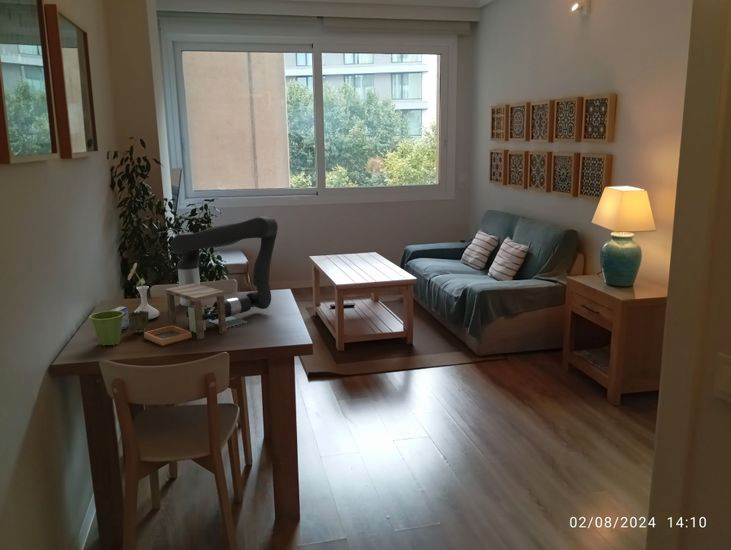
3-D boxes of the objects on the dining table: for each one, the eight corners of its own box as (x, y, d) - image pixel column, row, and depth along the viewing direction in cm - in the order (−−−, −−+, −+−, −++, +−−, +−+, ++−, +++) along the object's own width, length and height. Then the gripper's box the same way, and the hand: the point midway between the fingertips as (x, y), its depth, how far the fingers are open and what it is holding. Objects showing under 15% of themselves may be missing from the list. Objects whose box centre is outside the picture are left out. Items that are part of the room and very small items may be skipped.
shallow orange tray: (144, 338, 230) (143, 332, 229) (172, 331, 238) (172, 325, 238) (162, 346, 220) (162, 340, 220) (191, 338, 229) (191, 332, 228)
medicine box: (118, 333, 237) (116, 312, 236) (108, 332, 238) (105, 311, 236) (130, 327, 245) (127, 306, 243) (120, 326, 246) (117, 306, 244)
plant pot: (115, 349, 218) (112, 319, 216) (86, 348, 221) (82, 318, 218) (133, 338, 230) (130, 310, 227) (105, 337, 232) (101, 309, 229)
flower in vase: (141, 314, 263) (135, 258, 258) (165, 315, 261) (159, 259, 255) (123, 323, 251) (117, 264, 245) (148, 324, 248) (142, 265, 243)
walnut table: (168, 328, 241) (164, 289, 238) (197, 321, 250) (193, 283, 247) (198, 340, 226) (194, 297, 223) (227, 331, 236) (224, 291, 232)
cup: (135, 329, 242) (133, 310, 240) (153, 329, 241) (151, 310, 240) (127, 335, 234) (125, 315, 233) (146, 335, 234) (143, 315, 232)
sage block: (189, 330, 238) (187, 306, 236) (199, 327, 242) (197, 304, 239) (196, 332, 235) (193, 308, 233) (206, 330, 239) (203, 305, 236)
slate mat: (207, 321, 250) (207, 320, 249) (228, 316, 257) (228, 315, 257) (227, 328, 240) (227, 327, 240) (247, 322, 247) (247, 321, 247)
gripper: (216, 296, 251) (182, 304, 240) (236, 302, 242) (201, 310, 230) (218, 313, 253) (183, 322, 241) (238, 319, 243) (203, 329, 232)
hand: (192, 316), depth 236 cm, fingers open, 8 cm apart
